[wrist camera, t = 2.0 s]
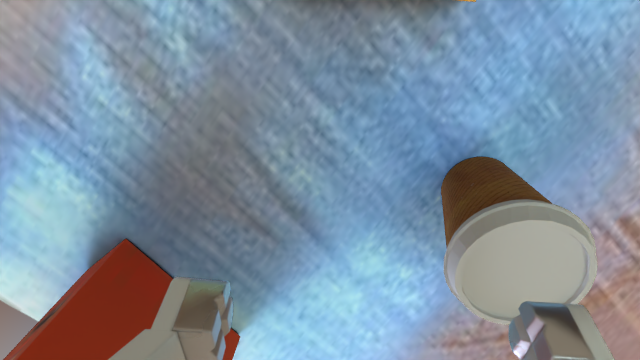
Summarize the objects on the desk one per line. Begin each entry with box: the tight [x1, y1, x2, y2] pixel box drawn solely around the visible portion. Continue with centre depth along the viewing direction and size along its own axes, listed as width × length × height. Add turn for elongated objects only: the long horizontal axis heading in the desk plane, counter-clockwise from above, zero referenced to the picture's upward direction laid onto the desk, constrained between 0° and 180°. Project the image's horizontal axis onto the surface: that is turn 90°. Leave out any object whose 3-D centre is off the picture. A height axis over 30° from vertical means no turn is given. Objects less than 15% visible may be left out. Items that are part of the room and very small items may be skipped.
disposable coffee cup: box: [441, 157, 597, 325], centre depth 31 cm, size 10×10×12 cm
